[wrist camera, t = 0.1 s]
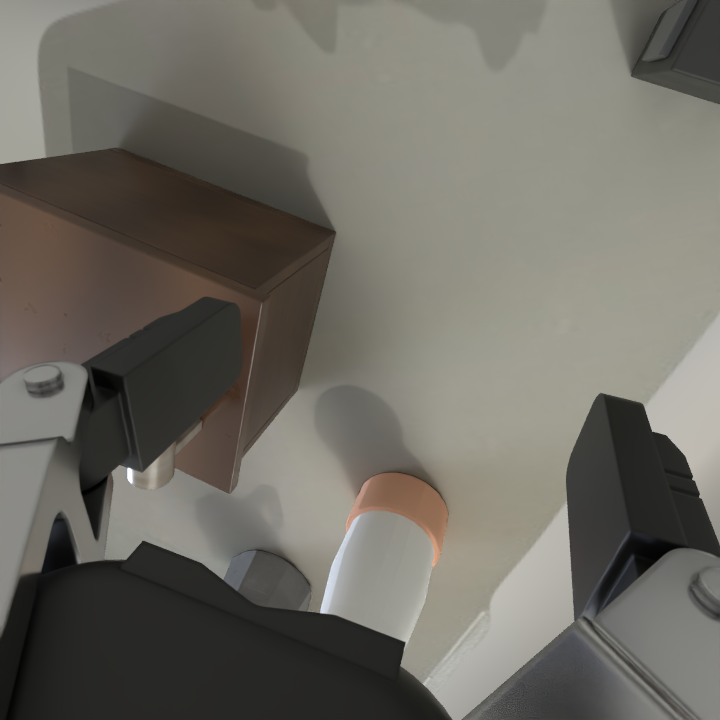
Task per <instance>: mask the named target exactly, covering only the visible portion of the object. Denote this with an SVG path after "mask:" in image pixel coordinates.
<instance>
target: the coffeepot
mask: <svg viewBox="0 0 720 720" xmlns="http://www.w3.org/2000/svg"><path fill="white" fill-rule="evenodd" d="M224 581H225V582H226V583H227V584H229V585H230V586H231V587H233V588H234V589H235V590H236V591H238V592H239V593H240V594H242V595H243V596H244V597H245V598H247V599H248V600H249V601H251V602H252V603H254V604H256V605H259V606H263V607H272V608H280V609H289V610H298V611H307V610H308V606H309V601H310V598H311V588H310V586H309V584H308V582H307V580H306V579H305V578H304V576H303V575H302V574H301V573H300V572H299V571H298V570H297V569H296V568H295V567H294V566H293V565H292V564H290V563H289V562H287V561H286V560H284V559H283V558H280V557H278V556H276V555H274V554H271V553H268V552H264V551H257V550H252V551H246V552H244V553H241V554H240V555H238V556H235V557H233V559H232V562H231V564H230V566H229V568H228V571H227V573H226V575H225V577H224Z"/></svg>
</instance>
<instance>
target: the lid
mask: <svg viewBox="0 0 720 720" xmlns="http://www.w3.org/2000/svg"><path fill="white" fill-rule="evenodd" d="M206 296H207V297H212V298H216V299H220V300H224V301H228V302H232V303H236V304H237V305H238V306H239V308H240V312H241V331H242V358H243V362H242V369H241V373H240V375H239V378H238V380H237V381H236V383H235V384H234V385H233V386H232V387H231V388H230V389H229V390H228V391H227V392H226V393H225V394H224V395H223V396H222V397H221V398H220V399H219V400H218V401H217V402H216V403H215V404H214V405H213V406H211V407H210V408H209V409H208V410H207V411H206V412H205V413H204V414H203V415H202V416H201V417H200V418H199V419H198V420H197V421H196V422H195V423H194V424H193V425H192V426H191V427H190V428H189V429H188V430H186V431H185V432H184V433H183V434H182V435H181V436H180V437H179V438H178V439H177V440H176V441H175V442H174V443H173V444H172V445H171V446H170V447H169V448H168V449H167V450H166V451H165V452H164V453H163V454H161V455H160V456H159V457H158V458H157V459H156V460H155V461H154V462H153V463H152V464H151V465H150V466H149V467H148V468H147V469H146V470H145V471H144V472H143V473H141V472H139V471H136V470H133V469H130V468H127V477H128V480H129V481H130V483H131V484H132V485H134V486H135V487H137V488H140V489H145V490H152V489H157V488H160V487H162V486H164V485H166V484H167V483H168V482H169V481H170V480H171V479H172V477H173V475H174V468H176V469H179V470H181V471H183V472H185V473H187V474H189V475H191V476H193V477H195V478H197V479H199V480H201V481H203V482H206V483H208V484H210V485H212V486H214V487H216V488H218V489H220V490H222V491H224V492H226V493H228V494H230V493H231V492H232V491H233V490H234V489H235V487H236V486H237V482H238V476H239V471H240V465H241V460H242V454H243V449H244V443H245V437H246V432H247V426H248V421H249V415H250V410H251V404H252V399H253V393H254V387H255V382H256V376H257V371H258V365H259V360H260V354H261V348H262V343H263V337H264V332H265V326H266V321H267V315H268V309H269V304H270V298H271V296H270V295H268V294H265V293H263V292H260V291H258V290H256V289H253V288H251V287H248V286H246V285H244V284H241V283H239V282H236V281H234V280H232V279H229V278H227V277H224V276H222V275H219V274H217V273H215V272H212V271H210V270H207V269H205V268H203V267H200V266H198V265H195V264H193V263H191V262H188V261H186V260H183V259H181V258H178V257H176V256H174V255H171V254H169V253H166V252H164V251H162V250H159V249H157V248H154V247H152V246H150V245H147V244H145V243H142V242H140V241H137V240H135V239H133V238H130V237H128V236H125V235H123V234H121V233H118V232H116V231H113V230H111V229H109V228H106V227H104V226H101V225H99V224H96V223H94V222H92V221H89V220H87V219H84V218H82V217H80V216H77V215H75V214H72V213H70V212H68V211H65V210H63V209H60V208H58V207H55V206H53V205H51V204H48V203H46V202H43V201H41V200H39V199H36V198H34V197H31V196H29V195H27V194H24V193H22V192H19V191H17V190H15V189H12V188H10V187H7V186H5V185H2V184H0V381H2V380H3V379H4V378H5V377H6V376H8V375H9V374H11V373H13V372H14V371H16V370H18V369H21V368H23V367H26V366H29V365H32V364H36V363H41V362H48V361H69V362H74V363H77V364H79V365H81V364H82V363H84V362H86V361H87V360H89V359H91V358H93V357H94V356H96V355H98V354H99V353H101V352H103V351H104V350H106V349H108V348H109V347H111V346H113V345H114V344H116V343H118V342H119V341H121V340H123V339H124V338H129V335H131V334H133V333H134V332H136V331H138V330H139V329H140V330H143V327H144V326H146V325H148V324H149V323H151V322H153V321H155V320H156V319H158V318H160V317H163V316H166V315H169V314H173V313H176V312H179V311H181V310H183V309H184V308H186V307H188V306H189V305H191V304H192V303H194V302H196V301H197V300H199V299H201V298H202V297H206Z"/></svg>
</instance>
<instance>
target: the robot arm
mask: <svg viewBox="0 0 720 720" xmlns="http://www.w3.org/2000/svg"><path fill="white" fill-rule="evenodd" d="M242 362H243V358H242V331H241V312H240V308H239V306H238V305H237V304H236V303H232V302H228V301H224V300H220V299H216V298H212V297H207V296H206V297H202V298H201V299H199V300H197V301H196V302H194V303H192V304H191V305H189V306H188V307H186V308H184V309H183V310H181V311H179V312H176V313H173V314H169V315H166V316H163V317H160V318H158V319H156V320H155V321H153V322H151V323H149V324H148V325H146V326H144V327H143V330H140V329H139V330H138V331H136V332H134V333H133V334H131V335H129V338H124V339H123V340H121V341H119V342H118V343H116V344H114V345H113V346H111V347H109V348H108V349H106V350H104V351H103V352H101V353H99V354H98V355H96V356H94V357H93V358H91V359H89V360H87V361H86V362H84V363H82V364H81V365H79V364H77V363H74V362H69V361H48V362H41V363H36V364H32V365H29V366H26V367H23V368H21V369H18V370H16V371H14V372H13V373H11V374H9V375H8V376H6V377H5V378H4V379H3V380H2V381H0V720H452V718H451V717H450V716H449V714H448V713H447V712H446V710H445V708H444V707H443V706H442V705H441V704H440V702H439V701H438V700H437V699H436V698H435V697H434V695H433V694H432V693H431V692H430V691H429V690H428V689H427V688H426V687H425V686H424V685H423V684H422V683H421V682H420V681H419V680H418V679H416V678H415V677H414V676H413V675H412V674H410V673H409V672H408V671H406V670H405V669H404V668H402V667H401V666H400V664H401V660H402V656H403V652H404V648H405V644H406V642H404V641H401V640H399V639H396V638H393V637H391V636H388V635H386V634H383V633H381V632H378V631H375V630H373V629H370V628H368V627H365V626H362V625H360V624H357V623H355V622H352V621H350V620H347V619H344V618H342V617H339V616H337V615H333V614H324V613H315V612H307V611H298V610H289V609H280V608H272V607H263V606H259V605H256V604H254V603H252V602H251V601H249V600H248V599H247V598H245V597H244V596H243V595H242V594H240V593H239V592H238V591H236V590H235V589H234V588H233V587H231V586H230V585H229V584H227V583H226V582H225V581H224V580H222V579H221V578H220V577H218V576H217V575H216V574H215V573H213V572H212V571H211V570H209V569H208V568H207V567H206V566H204V565H203V564H202V563H200V562H197V561H194V560H192V559H189V558H187V557H184V556H182V555H179V554H176V553H174V552H171V551H169V550H166V549H163V548H161V547H158V546H156V545H153V544H151V543H148V542H145V541H142V543H141V544H140V545H139V546H138V547H137V548H136V549H135V551H134V552H133V553H132V554H131V555H130V556H129V557H128V558H127V560H105V550H106V541H107V533H108V525H109V517H110V508H111V500H112V492H113V477H112V473H111V472H112V471H113V470H114V469H115V468H116V467H118V466H119V465H121V466H124V467H127V468H130V469H133V470H136V471H139V472H141V473H143V472H144V471H145V470H146V469H147V468H148V467H149V466H150V465H151V464H152V463H153V462H154V461H155V460H156V459H157V458H158V457H159V456H160V455H161V454H163V453H164V452H165V451H166V450H167V449H168V448H169V447H170V446H171V445H172V444H173V443H174V442H175V441H176V440H177V439H178V438H179V437H180V436H181V435H182V434H183V433H184V432H185V431H186V430H188V429H189V428H190V427H191V426H192V425H193V424H194V423H195V422H196V421H197V420H198V419H199V418H200V417H201V416H202V415H203V414H204V413H205V412H206V411H207V410H208V409H209V408H210V407H211V406H213V405H214V404H215V403H216V402H217V401H218V400H219V399H220V398H221V397H222V396H223V395H224V394H225V393H226V392H227V391H228V390H229V389H230V388H231V387H232V386H233V385H234V384H235V383H236V381H237V380H238V378H239V375H240V373H241V369H242ZM692 478H693V475H692V473H691V470H690V468H689V465H688V463H687V460H686V457H685V456H684V454H683V453H682V452H681V451H680V450H679V449H678V448H677V447H676V446H675V444H674V443H673V442H672V441H671V440H670V439H669V438H668V437H667V436H666V435H663V434H659V433H655V432H652V430H651V427H650V424H649V421H648V418H647V415H646V411H645V408H644V406H643V404H642V403H640V402H635V401H631V400H627V399H623V398H619V397H615V396H611V395H607V394H603V393H600V394H599V395H598V396H597V397H596V399H595V400H594V402H593V404H592V407H591V409H590V411H589V414H588V416H587V418H586V421H585V423H584V425H583V428H582V430H581V432H580V434H579V437H578V439H577V441H576V444H575V446H574V448H573V451H572V453H571V456H570V459H569V463H568V468H567V475H566V489H567V505H568V520H569V521H568V522H569V537H570V552H571V553H570V554H571V571H572V587H573V603H574V620H575V622H573V623H572V624H571V625H570V626H569V627H567V628H566V629H565V630H564V631H563V632H562V633H561V634H559V635H558V637H556V638H555V639H554V640H553V641H551V642H550V643H549V644H548V645H547V646H546V647H544V648H543V650H541V651H540V652H539V653H538V654H536V655H535V656H534V657H533V658H532V659H531V660H530V661H529V662H527V663H526V664H525V665H524V666H523V667H522V668H520V669H519V670H518V671H517V672H516V673H515V674H514V675H512V676H511V677H510V678H509V679H508V680H507V681H505V682H504V683H503V684H502V685H501V686H500V687H499V688H497V689H496V690H495V691H494V692H493V693H492V694H490V695H489V696H488V697H487V698H486V699H485V700H484V701H483V702H481V703H480V704H479V705H478V706H477V707H476V708H474V709H473V710H472V711H471V712H470V713H469V714H468V715H466V716H465V717H464V718H463V719H462V720H720V545H719V542H718V540H717V537H716V535H715V532H714V529H713V527H712V524H711V522H710V520H709V517H708V514H707V512H706V509H705V506H704V504H703V501H702V499H700V498H699V495H700V493H699V491H698V489H697V486H696V483H695V481H693V480H692Z"/></svg>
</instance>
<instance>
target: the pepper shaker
mask: <svg viewBox="0 0 720 720" xmlns="http://www.w3.org/2000/svg"><path fill="white" fill-rule="evenodd" d="M447 521H448V511H447V508H446V504H445V502H444V501H443V499H442V498H441V496H440V495H439V494H438V492H437V491H435V490H434V489H433V488H432V487H431V486H429V485H428V484H427V483H426V482H424V481H422V480H419V479H417V478H415V477H413V476H410V475H406V474H402V473H382V474H379V475H376V476H373V477H371V478H370V479H369V480H367V481H366V482H365V483H364V484H363V486H362V488H361V491H360V493H359V495H358V497H357V499H356V501H355V504H354V506H353V508H352V510H351V512H350V515H349V517H348V519H347V521H346V536H345V538H344V540H343V542H342V544H341V547H340V549H339V551H338V553H337V555H336V557H335V559H334V561H333V563H332V566H331V570H330V574H329V578H328V582H327V586H326V590H325V594H324V598H323V602H322V606H321V610H320V613H324V614H333V615H337V616H339V617H342V618H344V619H347V620H350V621H352V622H355V623H357V624H360V625H362V626H365V627H368V628H370V629H373V630H375V631H378V632H381V633H383V634H386V635H388V636H391V637H393V638H396V639H399V640H401V641H404V642H406V644H405V648H406V646H407V643H408V641H409V639H410V636H411V634H412V632H413V629H414V627H415V625H416V622H417V620H418V617H419V615H420V613H421V610H422V608H423V606H424V603H425V600H426V595H427V590H428V585H429V579H430V574H431V569H432V568H433V567H434V566H435V564H436V563H437V561H438V560H439V559H440V554H441V550H442V545H443V541H444V536H445V531H446V527H447ZM405 648H404V650H405ZM403 653H404V652H403Z"/></svg>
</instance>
